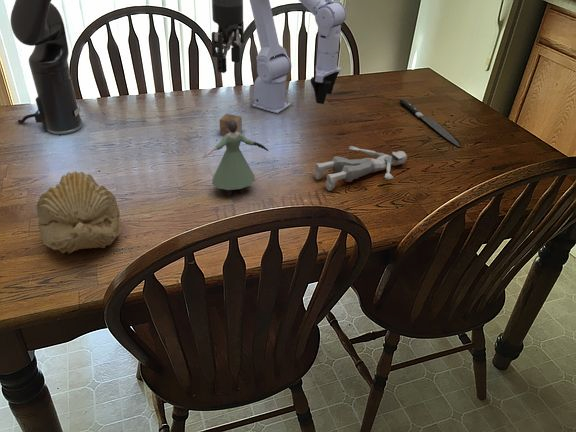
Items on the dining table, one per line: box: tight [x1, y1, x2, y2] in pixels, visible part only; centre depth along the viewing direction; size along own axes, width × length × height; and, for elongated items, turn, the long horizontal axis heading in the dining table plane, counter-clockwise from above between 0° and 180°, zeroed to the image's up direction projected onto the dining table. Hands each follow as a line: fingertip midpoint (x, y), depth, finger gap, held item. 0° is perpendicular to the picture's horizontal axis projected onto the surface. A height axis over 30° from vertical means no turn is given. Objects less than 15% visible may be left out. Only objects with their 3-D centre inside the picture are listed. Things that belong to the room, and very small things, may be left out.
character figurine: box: [202, 120, 270, 196], centre depth 113 cm, size 16×8×18 cm, turn 114°
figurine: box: [313, 145, 408, 192], centre depth 125 cm, size 18×5×25 cm
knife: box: [398, 98, 461, 147], centre depth 152 cm, size 32×4×1 cm, turn 20°
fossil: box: [36, 170, 122, 254], centre depth 97 cm, size 15×17×15 cm
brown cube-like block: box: [219, 113, 243, 137], centre depth 141 cm, size 5×4×5 cm
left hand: (229, 66), depth 131 cm, fingers open, 8 cm apart
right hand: (323, 98), depth 143 cm, fingers open, 7 cm apart
